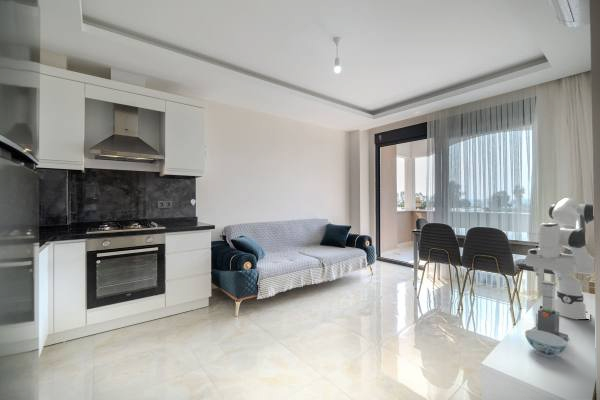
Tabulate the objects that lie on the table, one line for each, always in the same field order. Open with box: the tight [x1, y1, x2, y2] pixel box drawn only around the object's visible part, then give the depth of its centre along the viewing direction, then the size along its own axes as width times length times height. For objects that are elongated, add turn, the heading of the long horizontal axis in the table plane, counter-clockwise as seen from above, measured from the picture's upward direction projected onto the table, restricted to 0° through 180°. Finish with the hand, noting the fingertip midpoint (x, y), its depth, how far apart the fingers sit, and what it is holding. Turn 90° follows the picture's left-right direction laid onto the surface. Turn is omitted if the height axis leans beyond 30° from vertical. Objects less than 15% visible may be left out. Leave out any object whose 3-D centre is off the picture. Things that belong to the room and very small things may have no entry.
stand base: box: [530, 308, 569, 341], centre depth 147 cm, size 13×13×14 cm
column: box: [541, 280, 557, 314], centre depth 147 cm, size 5×5×22 cm
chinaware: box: [524, 329, 568, 358], centre depth 131 cm, size 15×15×8 cm
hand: (549, 277), depth 147 cm, fingers open, 8 cm apart
